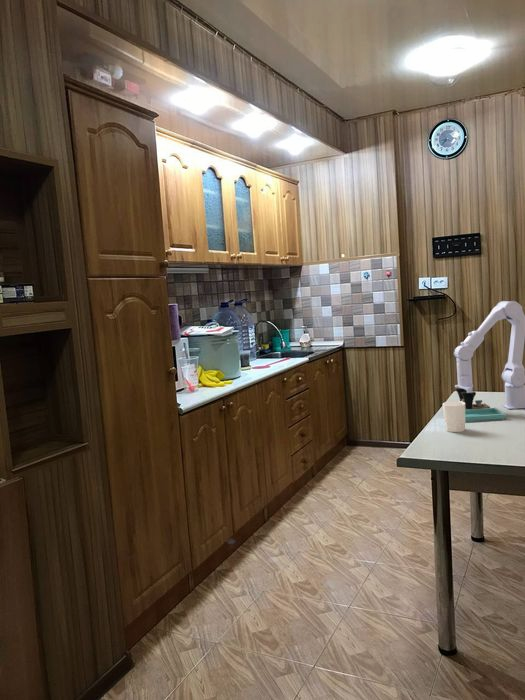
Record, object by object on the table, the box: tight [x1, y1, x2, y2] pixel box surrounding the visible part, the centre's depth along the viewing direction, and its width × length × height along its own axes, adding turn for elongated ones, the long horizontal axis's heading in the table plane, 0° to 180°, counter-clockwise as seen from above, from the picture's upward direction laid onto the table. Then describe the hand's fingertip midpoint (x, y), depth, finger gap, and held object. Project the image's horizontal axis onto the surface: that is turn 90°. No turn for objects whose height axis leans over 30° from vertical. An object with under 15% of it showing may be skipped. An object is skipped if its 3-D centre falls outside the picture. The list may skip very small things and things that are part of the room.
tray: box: [465, 407, 506, 423], centre depth 217 cm, size 16×12×2 cm
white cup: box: [442, 400, 466, 433], centre depth 202 cm, size 8×8×10 cm
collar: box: [462, 399, 491, 410], centre depth 228 cm, size 10×7×5 cm
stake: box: [474, 399, 483, 407], centre depth 228 cm, size 3×2×4 cm
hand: (466, 406), depth 229 cm, fingers open, 7 cm apart
